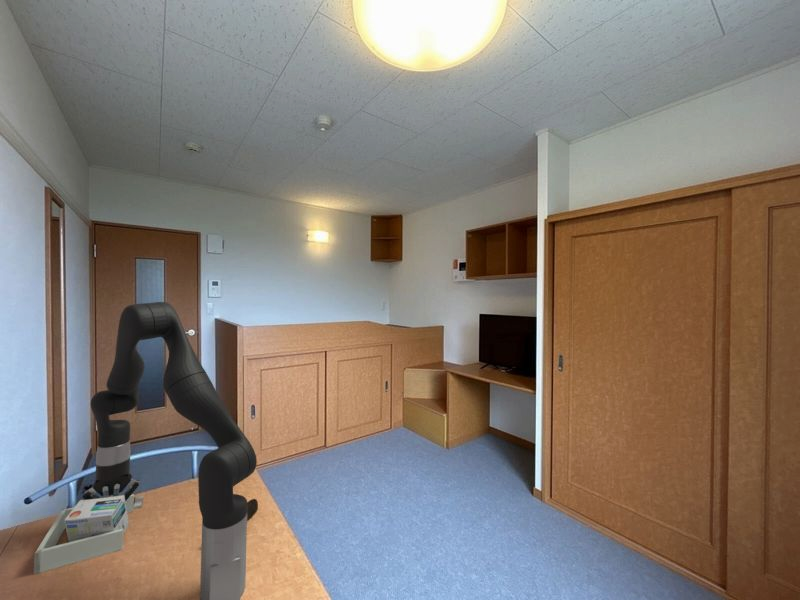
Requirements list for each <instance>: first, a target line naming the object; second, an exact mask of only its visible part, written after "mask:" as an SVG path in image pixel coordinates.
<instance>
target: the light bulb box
mask: <svg viewBox="0 0 800 600" xmlns="http://www.w3.org/2000/svg"><path fill="white" fill-rule="evenodd" d="M73 507H74V509H73V510H72V511H71V512H70V514H69V515H68V516H67V517H66V519H65V520H64V523H65V527H66V528H65V531H66V532H65V533H66V537H67V540H68V543H69V542H73V541H76V540H80V539H84V538H88V537H92V536H96V535H100V534H104V533H108V532H111V531H115V530H119V529H123V535H124V534H125V532H126V531H127V529H128V527H129V525H130V522H129V515H128V513H127V508H126V502H125V496H124V494H120V496H113V495H112V496H111V497H106V498H103V497H100V498H97V499H87V500H85V499H80V500H79V501H78V502H77V503H76V504H75V506H73Z"/></svg>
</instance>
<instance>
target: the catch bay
mask: <svg viewBox="0 0 800 600" xmlns="http://www.w3.org/2000/svg"><path fill="white" fill-rule="evenodd" d="M134 497H135V494H133V493H132V494H131V496H130V497H129V498H128V499H127V500H126V508H127V514H129V513H133V512H134V507H133V503H134ZM74 507H75V506H73V507H69V508H64V509H61V511H60V512H59V514H58V515H57V517H56V519H55V520H54V522H53V524H52V525H51V526H50V529H49V530H48V531H47V533H46V535H45V536H44V538H43V539H42V541H41V542H40V544H39V546H38V548H37V549H36V551H35V552H34V559H33V561H34V564H33V566H34V567H33V575H36V574H40V573H45V572H48V571H51V570H54V569H59V568H61V567H65V566H68V565H72V564H76V563H79V562H83V561H86V560H90V559H93V558H96V557H100V556H103V555H108V554H111V553H115V552H119V551H122V550H123V546H124V545H123V543H124V534H123V529H119V530H115V531H111V532H108V533H104V534H100V535H96V536H92V537H88V538H84V539H80V540H76V541H73V542H69V541H68V542H64V543H62V544H58V545H57V543H58V542H59V540H60V537H61V535H62V534H63V533H64V531H65V530H66V527H65V523H64V520H65V519H66V517H67V516H68V515H69V514H70V512H71V511H72V510H73V509H74Z"/></svg>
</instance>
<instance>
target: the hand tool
mask: <svg viewBox="0 0 800 600" xmlns="http://www.w3.org/2000/svg"><path fill="white" fill-rule="evenodd" d="M247 503H248V509H247V522H249V521H250V520H251V519H252V518H253V517H254V515H256V513H257V512H258V510H259V502H258V500H257V498H252V499H250V500H248V501H247Z"/></svg>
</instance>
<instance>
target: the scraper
mask: <svg viewBox="0 0 800 600" xmlns="http://www.w3.org/2000/svg"><path fill="white" fill-rule="evenodd" d="M144 497H145V495H141V496H134V503H133V510H136V509H141V508H142V506H143V502H144Z"/></svg>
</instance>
